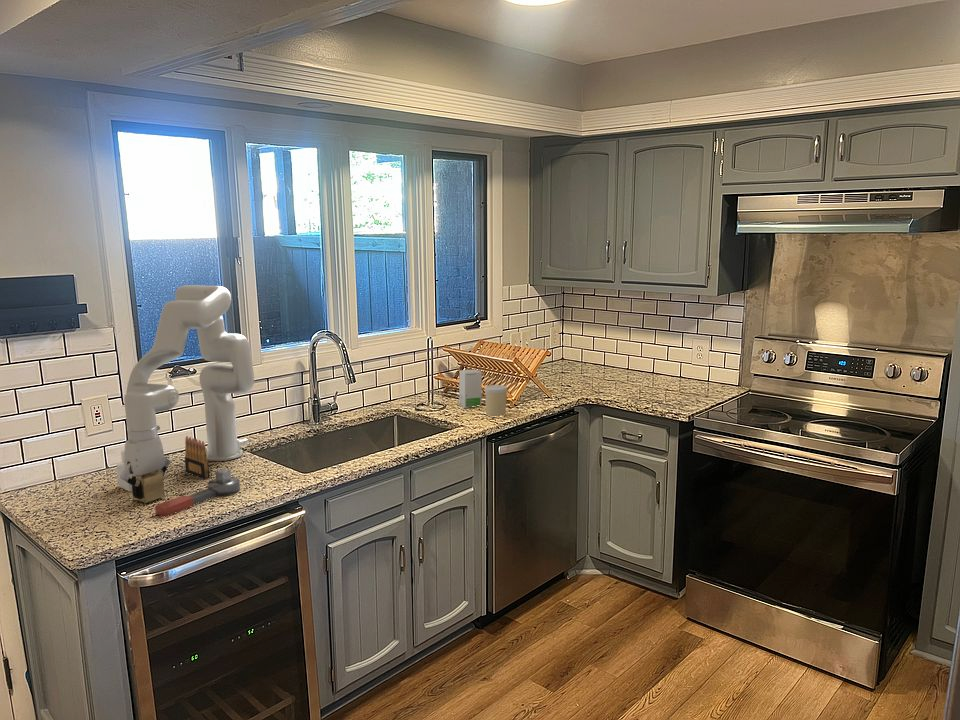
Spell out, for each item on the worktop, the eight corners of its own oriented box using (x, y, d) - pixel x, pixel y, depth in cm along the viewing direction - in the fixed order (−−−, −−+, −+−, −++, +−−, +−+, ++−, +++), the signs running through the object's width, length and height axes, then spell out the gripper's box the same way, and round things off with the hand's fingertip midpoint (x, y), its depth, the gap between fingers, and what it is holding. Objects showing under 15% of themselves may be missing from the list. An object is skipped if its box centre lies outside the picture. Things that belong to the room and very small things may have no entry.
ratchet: (225, 483, 221) (224, 463, 220) (246, 488, 217) (245, 469, 216) (150, 512, 199) (148, 491, 198) (171, 518, 195) (169, 497, 194)
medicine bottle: (141, 480, 224) (138, 442, 222) (152, 485, 219) (149, 447, 217) (118, 486, 218) (114, 448, 216) (129, 492, 214) (125, 453, 212)
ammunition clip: (185, 472, 231) (182, 436, 229) (190, 470, 232) (187, 434, 230) (204, 479, 225) (201, 442, 222) (210, 477, 226) (207, 440, 224)
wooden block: (151, 491, 213) (149, 469, 211) (164, 495, 210) (162, 472, 208) (132, 498, 207) (130, 475, 206) (146, 502, 205) (143, 479, 203)
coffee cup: (492, 411, 304) (493, 383, 302) (511, 415, 299) (511, 386, 297) (479, 416, 297) (479, 387, 294) (498, 420, 291) (498, 390, 289)
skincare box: (464, 409, 308) (464, 373, 305) (458, 405, 314) (458, 370, 311) (482, 406, 312) (482, 371, 309) (476, 403, 318) (476, 368, 315)
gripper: (160, 424, 214) (166, 482, 217) (105, 440, 199) (112, 501, 203) (177, 428, 210) (182, 486, 214) (122, 444, 196) (129, 507, 199)
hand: (148, 493), depth 208 cm, fingers closed on wooden block, 6 cm apart
